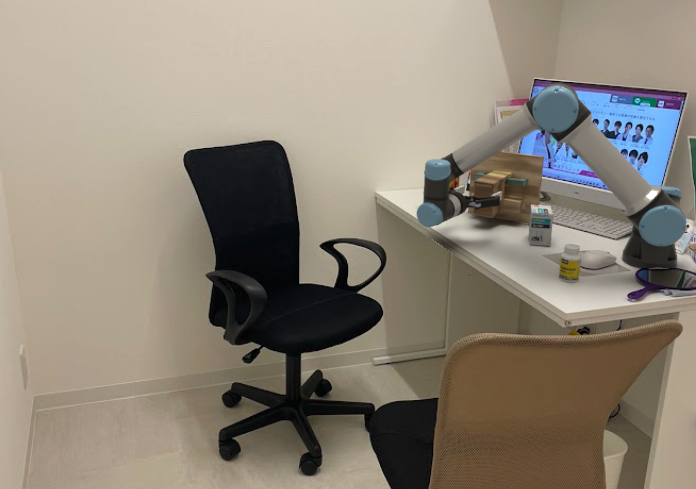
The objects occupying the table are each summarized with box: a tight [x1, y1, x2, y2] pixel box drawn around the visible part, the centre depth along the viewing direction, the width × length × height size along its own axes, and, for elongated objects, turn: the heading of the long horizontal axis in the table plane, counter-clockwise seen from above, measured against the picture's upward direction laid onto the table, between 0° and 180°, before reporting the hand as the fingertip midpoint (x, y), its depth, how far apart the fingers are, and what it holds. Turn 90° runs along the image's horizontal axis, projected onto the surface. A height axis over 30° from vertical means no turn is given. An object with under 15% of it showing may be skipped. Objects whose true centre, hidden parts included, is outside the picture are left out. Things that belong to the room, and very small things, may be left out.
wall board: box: [467, 150, 545, 225], centre depth 247 cm, size 11×26×24 cm, turn 54°
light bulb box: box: [528, 204, 554, 247], centre depth 226 cm, size 11×7×11 cm, turn 168°
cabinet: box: [472, 170, 512, 219], centre depth 242 cm, size 16×7×12 cm, turn 144°
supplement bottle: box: [558, 243, 582, 283], centre depth 194 cm, size 5×5×10 cm
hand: (482, 192), depth 235 cm, fingers open, 13 cm apart
